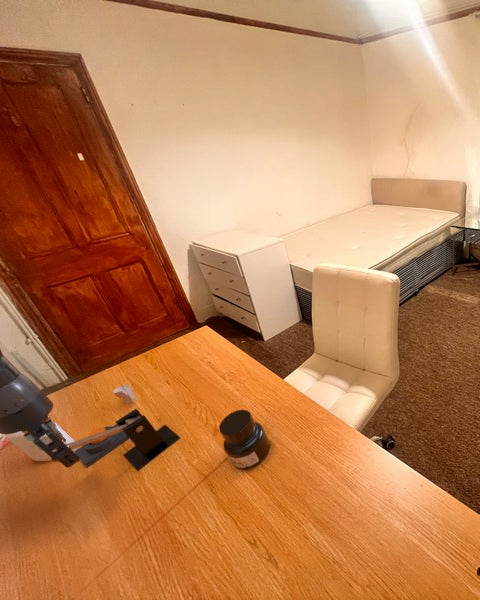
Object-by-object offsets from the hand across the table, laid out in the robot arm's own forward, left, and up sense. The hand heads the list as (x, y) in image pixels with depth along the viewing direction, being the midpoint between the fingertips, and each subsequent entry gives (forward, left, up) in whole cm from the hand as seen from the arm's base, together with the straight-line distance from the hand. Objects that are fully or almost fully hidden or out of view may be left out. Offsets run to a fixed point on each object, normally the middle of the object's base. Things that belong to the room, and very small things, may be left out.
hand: (66, 453), depth 65 cm
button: (+5, +12, -10) cm, 16 cm away
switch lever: (+5, 0, -2) cm, 6 cm away
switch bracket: (+11, 0, -13) cm, 17 cm away
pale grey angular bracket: (+15, +24, -14) cm, 31 cm away
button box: (+5, +12, -13) cm, 19 cm away
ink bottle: (+23, -24, -14) cm, 36 cm away
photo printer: (-3, +22, -14) cm, 26 cm away
